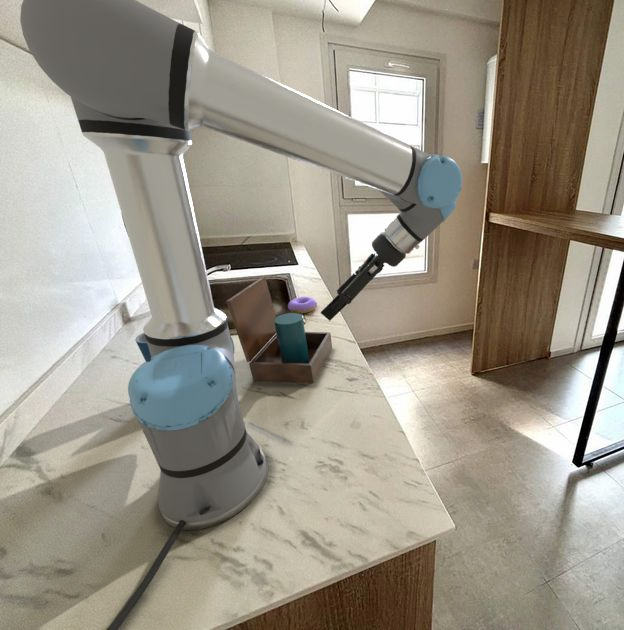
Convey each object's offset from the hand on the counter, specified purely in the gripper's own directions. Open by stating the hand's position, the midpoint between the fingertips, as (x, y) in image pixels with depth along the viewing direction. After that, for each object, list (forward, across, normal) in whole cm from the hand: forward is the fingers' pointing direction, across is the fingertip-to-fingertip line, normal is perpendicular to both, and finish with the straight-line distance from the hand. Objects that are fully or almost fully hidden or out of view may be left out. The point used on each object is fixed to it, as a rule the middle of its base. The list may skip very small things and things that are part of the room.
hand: (333, 304), depth 79 cm
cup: (+38, -12, +12) cm, 41 cm away
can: (+20, 0, -4) cm, 21 cm away
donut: (+29, +36, +3) cm, 46 cm away
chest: (+21, 0, -4) cm, 21 cm away
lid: (+16, 0, +11) cm, 20 cm away
